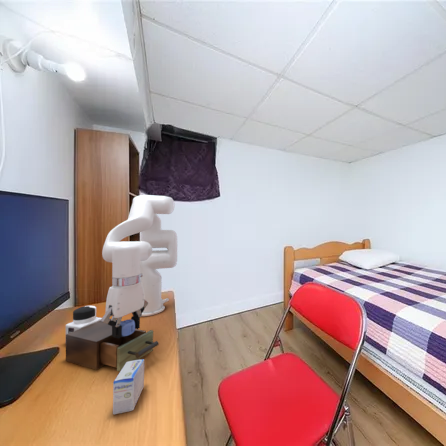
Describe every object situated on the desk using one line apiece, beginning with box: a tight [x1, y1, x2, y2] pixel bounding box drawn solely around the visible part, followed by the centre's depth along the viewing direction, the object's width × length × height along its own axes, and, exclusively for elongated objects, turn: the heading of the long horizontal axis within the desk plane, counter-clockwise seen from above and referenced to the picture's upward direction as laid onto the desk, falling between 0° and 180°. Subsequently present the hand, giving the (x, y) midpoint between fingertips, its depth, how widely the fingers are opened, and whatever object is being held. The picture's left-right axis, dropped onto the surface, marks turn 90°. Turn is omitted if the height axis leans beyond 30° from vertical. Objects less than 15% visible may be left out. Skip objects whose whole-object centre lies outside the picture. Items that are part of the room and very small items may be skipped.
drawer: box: [99, 328, 160, 373], centre depth 73 cm, size 18×11×7 cm, turn 75°
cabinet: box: [65, 318, 123, 371], centre depth 76 cm, size 15×13×9 cm
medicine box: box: [112, 358, 145, 416], centre depth 57 cm, size 8×4×9 cm, turn 20°
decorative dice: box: [120, 318, 135, 337], centre depth 74 cm, size 4×4×4 cm
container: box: [65, 305, 102, 335], centre depth 84 cm, size 8×8×13 cm
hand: (126, 332), depth 74 cm, fingers closed on decorative dice, 5 cm apart
